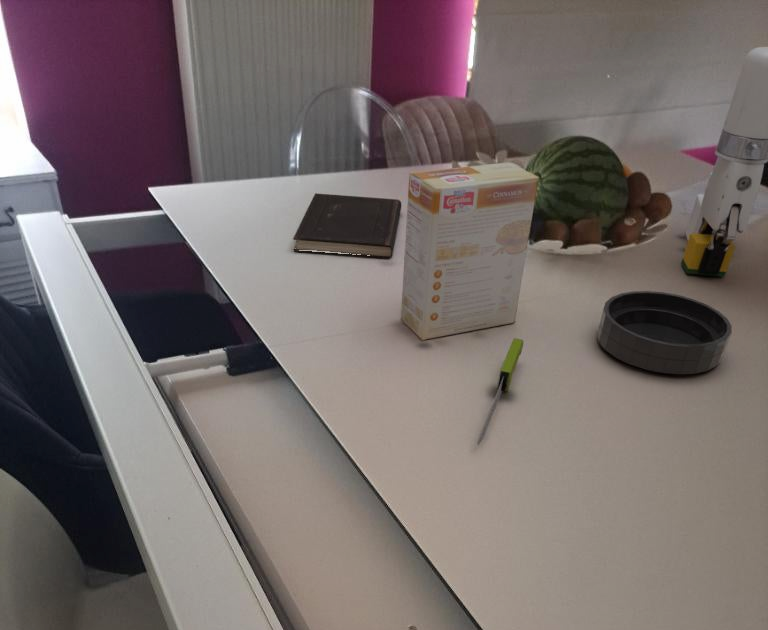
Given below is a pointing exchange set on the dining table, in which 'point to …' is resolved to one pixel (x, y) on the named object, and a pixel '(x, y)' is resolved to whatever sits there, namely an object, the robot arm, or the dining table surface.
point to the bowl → (663, 332)
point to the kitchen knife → (504, 378)
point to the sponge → (696, 251)
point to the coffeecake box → (465, 247)
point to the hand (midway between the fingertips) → (703, 266)
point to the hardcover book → (349, 226)
